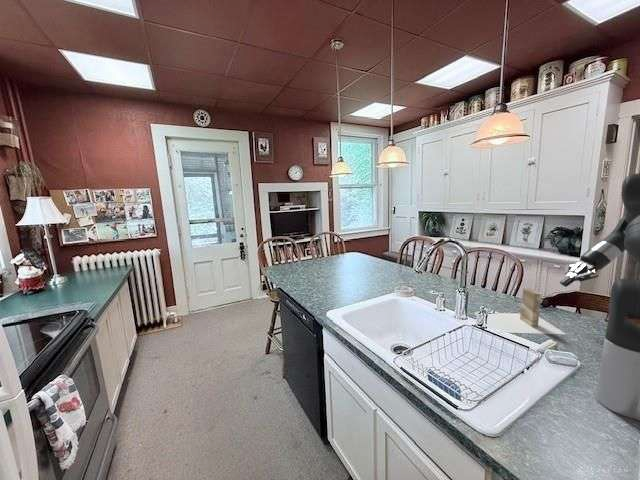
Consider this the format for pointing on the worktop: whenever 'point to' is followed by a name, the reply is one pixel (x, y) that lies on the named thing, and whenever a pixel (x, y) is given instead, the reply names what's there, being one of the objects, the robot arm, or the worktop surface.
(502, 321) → the rubber mat
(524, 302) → the wooden tile
